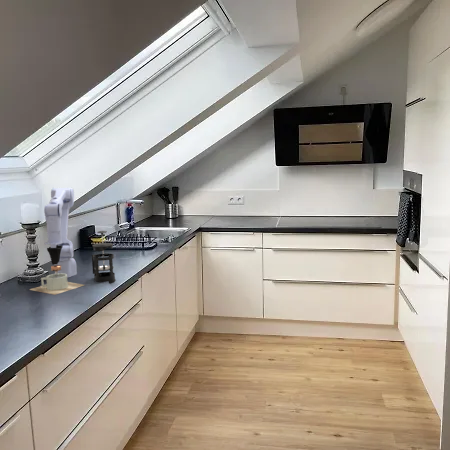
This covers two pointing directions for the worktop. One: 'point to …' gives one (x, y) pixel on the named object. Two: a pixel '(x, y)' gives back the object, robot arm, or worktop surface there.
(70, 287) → the serving board
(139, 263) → the worktop surface
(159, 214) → the worktop surface
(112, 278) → the french press
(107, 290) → the worktop surface
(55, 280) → the faceted mug
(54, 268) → the plunger
